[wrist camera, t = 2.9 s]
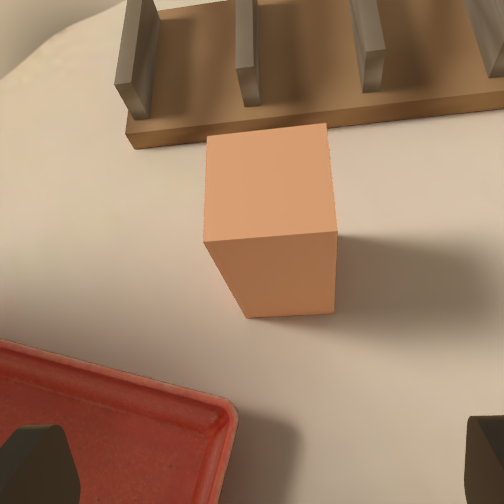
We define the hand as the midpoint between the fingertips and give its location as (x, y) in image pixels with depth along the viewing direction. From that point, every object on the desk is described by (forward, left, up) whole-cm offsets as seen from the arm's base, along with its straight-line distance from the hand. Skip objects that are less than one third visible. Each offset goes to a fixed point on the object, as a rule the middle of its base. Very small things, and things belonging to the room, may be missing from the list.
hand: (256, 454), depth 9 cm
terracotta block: (0, +9, -13) cm, 15 cm away
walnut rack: (+2, +24, -13) cm, 27 cm away
